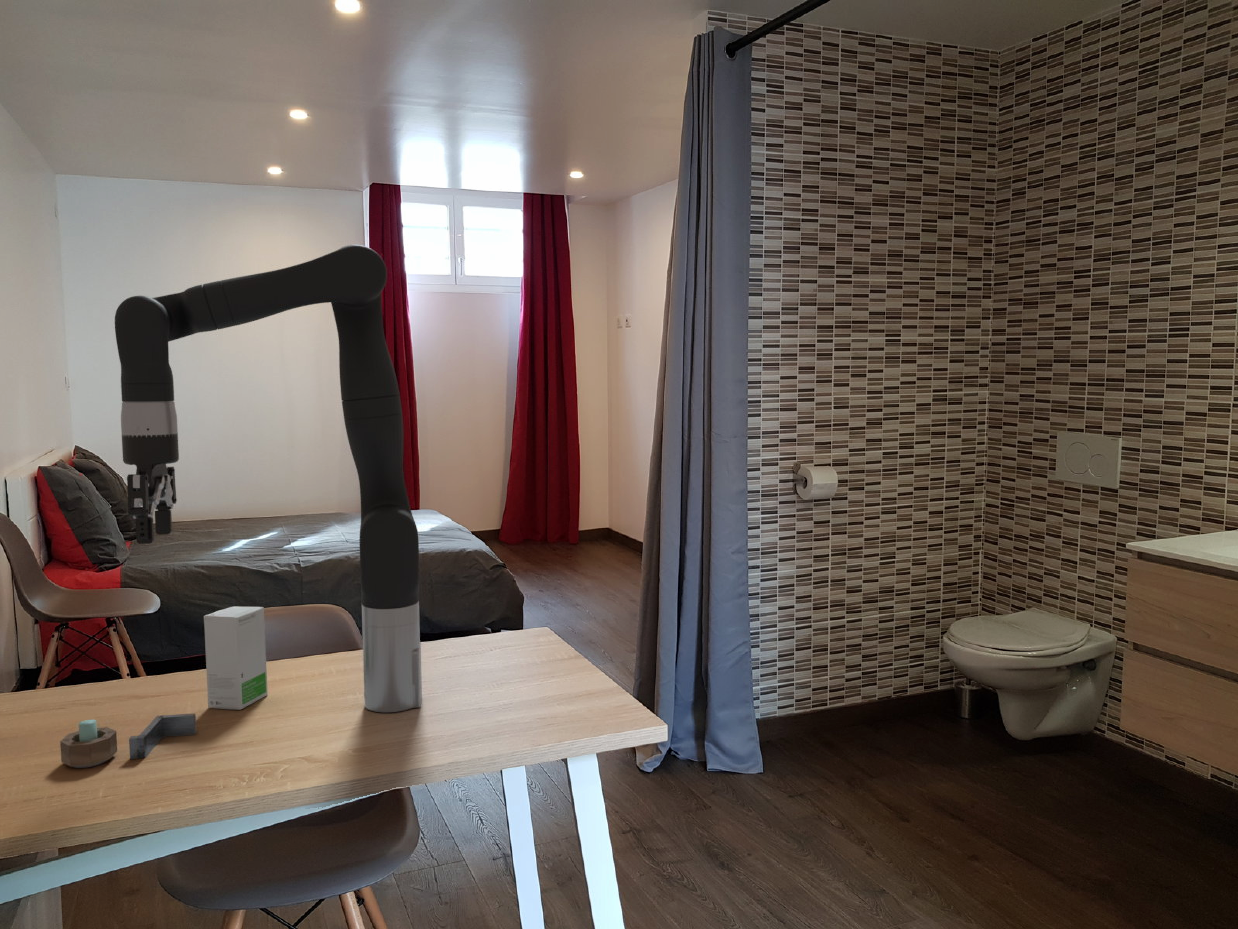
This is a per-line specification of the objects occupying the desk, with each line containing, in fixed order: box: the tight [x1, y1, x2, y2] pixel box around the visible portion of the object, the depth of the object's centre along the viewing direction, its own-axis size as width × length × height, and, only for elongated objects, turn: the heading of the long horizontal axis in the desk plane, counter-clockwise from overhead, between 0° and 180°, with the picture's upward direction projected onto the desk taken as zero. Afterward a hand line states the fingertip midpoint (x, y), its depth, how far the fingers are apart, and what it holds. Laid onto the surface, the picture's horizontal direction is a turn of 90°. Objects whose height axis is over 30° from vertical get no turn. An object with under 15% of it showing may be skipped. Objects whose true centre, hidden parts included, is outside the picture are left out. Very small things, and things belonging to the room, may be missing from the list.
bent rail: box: [128, 713, 197, 760], centre depth 135 cm, size 6×9×3 cm
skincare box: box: [203, 605, 268, 711], centre depth 153 cm, size 8×7×16 cm
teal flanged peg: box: [70, 719, 108, 769], centre depth 130 cm, size 5×5×6 cm
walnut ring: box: [59, 726, 118, 767], centre depth 130 cm, size 6×6×3 cm
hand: (155, 538), depth 138 cm, fingers open, 8 cm apart
